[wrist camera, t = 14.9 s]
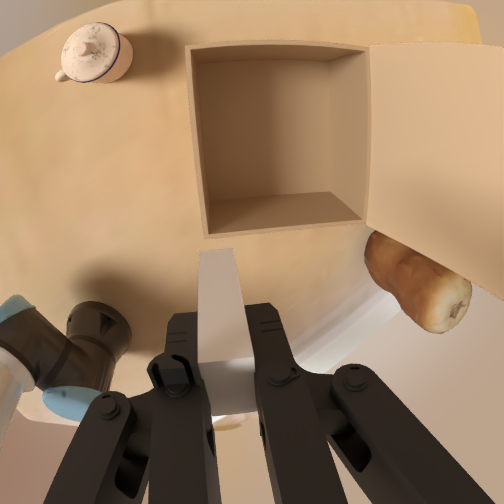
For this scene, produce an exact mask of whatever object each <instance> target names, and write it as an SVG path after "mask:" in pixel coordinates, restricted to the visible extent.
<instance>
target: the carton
mask: <svg viewBox="0 0 504 504" xmlns="http://www.w3.org/2000/svg"><path fill="white" fill-rule="evenodd" d="M185 60H186V74H187V87H188V99H189V110H190V121H191V131H192V141H193V151H194V160H195V169H196V178H197V186H198V194H199V202H200V210H201V218H202V225H203V233H204V239H212V238H221V237H231V236H240V235H250V234H259V233H269V232H279V231H289V230H300V229H310V228H321V227H331V226H342V225H354V224H365V223H366V222H367V211H368V198H369V184H370V165H371V131H372V103H371V70H370V53H369V47H363V46H355V45H348V44H339V43H329V42H317V41H299V40H242V41H225V42H212V43H202V44H194V45H186V46H185Z"/></svg>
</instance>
